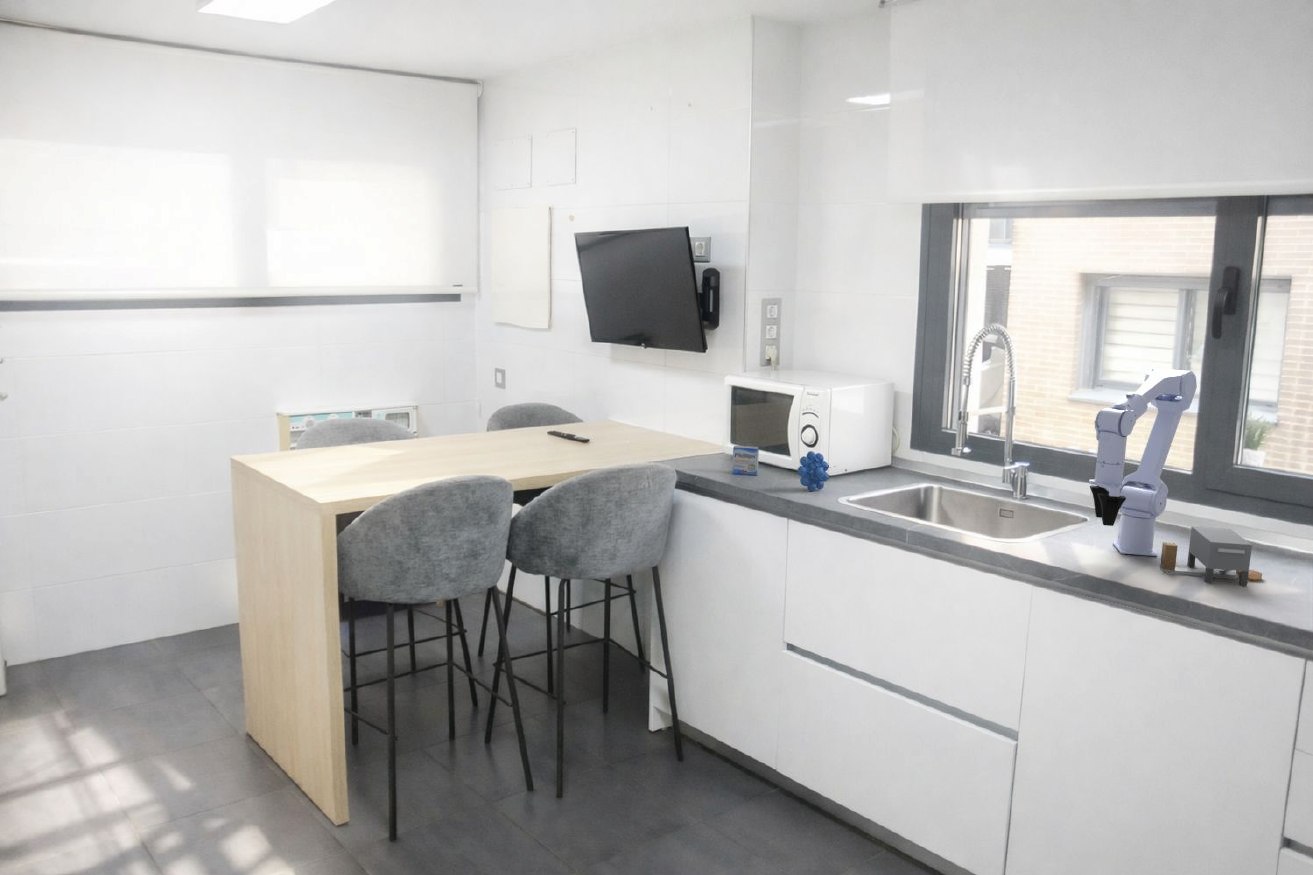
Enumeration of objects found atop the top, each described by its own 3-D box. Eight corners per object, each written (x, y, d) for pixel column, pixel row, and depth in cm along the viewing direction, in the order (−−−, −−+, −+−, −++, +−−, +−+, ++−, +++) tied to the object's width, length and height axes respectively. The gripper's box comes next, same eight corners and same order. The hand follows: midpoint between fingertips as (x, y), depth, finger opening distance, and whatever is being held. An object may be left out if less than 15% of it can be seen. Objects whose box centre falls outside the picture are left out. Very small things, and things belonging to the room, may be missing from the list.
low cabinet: (1187, 564, 233) (1191, 526, 232) (1225, 567, 232) (1230, 528, 230) (1207, 583, 219) (1211, 542, 217) (1248, 587, 217) (1253, 545, 216)
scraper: (1159, 570, 229) (1162, 542, 228) (1233, 575, 226) (1236, 547, 225) (1163, 574, 226) (1166, 545, 225) (1238, 579, 223) (1241, 550, 222)
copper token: (1231, 574, 227) (1232, 568, 227) (1256, 576, 226) (1257, 569, 226) (1239, 581, 223) (1240, 574, 222) (1265, 583, 222) (1265, 576, 221)
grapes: (806, 496, 294) (809, 454, 292) (791, 491, 300) (793, 451, 298) (837, 492, 301) (839, 451, 299) (821, 487, 306) (823, 448, 304)
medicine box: (731, 474, 323) (732, 447, 321) (733, 471, 327) (734, 445, 326) (757, 475, 322) (758, 448, 320) (758, 473, 326) (759, 446, 325)
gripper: (1085, 455, 238) (1079, 512, 241) (1097, 466, 224) (1091, 527, 227) (1117, 457, 237) (1112, 514, 239) (1132, 469, 223) (1126, 529, 225)
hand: (1104, 521), depth 233 cm, fingers open, 7 cm apart
